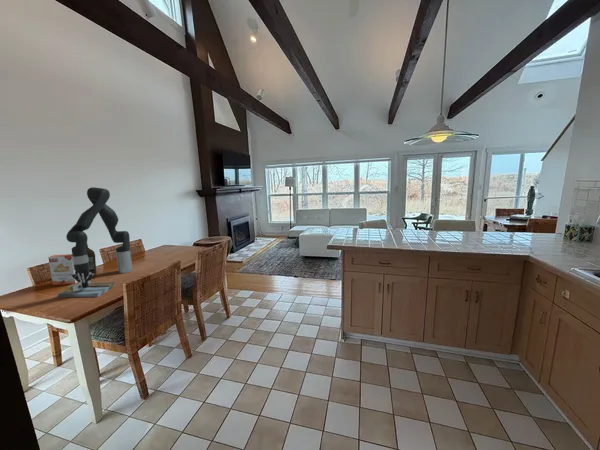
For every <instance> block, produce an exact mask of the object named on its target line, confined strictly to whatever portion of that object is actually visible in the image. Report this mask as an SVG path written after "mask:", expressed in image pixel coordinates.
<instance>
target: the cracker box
mask: <svg viewBox="0 0 600 450" xmlns="http://www.w3.org/2000/svg"><path fill="white" fill-rule="evenodd" d="M47 259H48V264H49V269H50V270H49V271H50V277H51V282H52V286H62V285H67V286H68V285H75V284H77V283H79V282H77V281H76V280H75V279H74V278H73V277H72V275H73V274H75V270H74V265H73V256H72V254H53V255H50V256H48V258H47Z"/></svg>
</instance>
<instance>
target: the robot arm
mask: <svg viewBox="0 0 600 450" xmlns="http://www.w3.org/2000/svg"><path fill="white" fill-rule="evenodd" d="M86 195H87V198H88V200H89V201H90V202H91V204H92V206H90V207H89V208H87V209H86V210H84V211H83V212H82V213H81V214H80V216H79V218H78V220H77V221H76V223H75V224H74V225H73V226H72V227H71V228H70V230H69V231H68V232H67V233H66V236H65V237H66V240H67V242H69V243H75V246H73V247H71V253H72V256H73V265H74V270H75V274H73V275H72V277H73V278H74V279H75V280H76V281H77V282H78V283H80V282H81V283H82V287H83V288H87V287H88V281H90V280H91V281H92V279H93V278H94V276H95V274H94V273H91V272H90V270H89V268H90V266H89V260H88V256H87V250H86V246H87V245H88V240H89V239H88V235H87V234H86V232H85V231H88V230H89V229H90V228H91V225H92V224H93V222H94V220H95V218H96V217H97V215H98V214H99V216H100V219H101V220H102V221H103V224H104V225H105V227H106V229H107V232H109V235H110V238H111V240H112V242H113V243H114V244H122V245H121V246H118V247H116V249H115V252H116V253H115V255H116V262H117V263H116V264H117V271H118V273H119V274H126V273H130V272H132V271H133V261H132V260H133V259H132V254H131V243H130V233H129V231H127V230H122V231H117V230H116V229H117V228H116V227H117V225H118V224H119V223H118V222H119V217H118V215H117V213H116V211H115V210H114V209H113V208H111V207H110V206H109V205H107V202H108V200H110V196H111V193H110V191H109V190H108V189H106V188H102V187H93V186H92V187H89V188H88V189H87V191H86ZM88 275H89V276H88Z"/></svg>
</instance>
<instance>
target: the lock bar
mask: <svg viewBox="0 0 600 450" xmlns="http://www.w3.org/2000/svg"><path fill="white" fill-rule="evenodd" d="M91 282H92V279H91V280H90V281H88V285H89V284H91ZM74 285H75V284H74ZM82 288H83V287H82V283H81V282H78V284H77V283H76V285H75V286H73V291H79V290H81V289H82Z"/></svg>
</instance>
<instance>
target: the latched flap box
mask: <svg viewBox="0 0 600 450" xmlns="http://www.w3.org/2000/svg"><path fill="white" fill-rule="evenodd" d="M78 283H79V282H78ZM78 283H76V284H78ZM116 283H117V282H116V281H91V284H89V285H88V287H87V288H82V289H81V290H79V291H73V286H75V285H76V284H69V285H67V286H66V288H65V289H66V290H64V291H62V292H60V293H58V294H57V297H58V298H93V297H94V298H95V297H96V298H98V297H100V296H102V295H103V294H105V293H107V292H108V291H110V290H112V289H114V288H115V287H116V286H117V284H116Z"/></svg>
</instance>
